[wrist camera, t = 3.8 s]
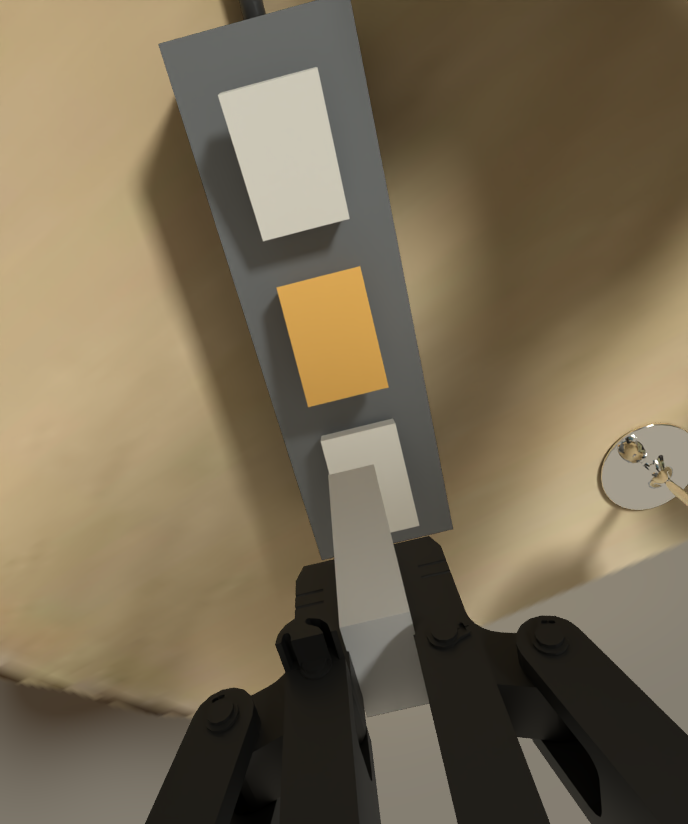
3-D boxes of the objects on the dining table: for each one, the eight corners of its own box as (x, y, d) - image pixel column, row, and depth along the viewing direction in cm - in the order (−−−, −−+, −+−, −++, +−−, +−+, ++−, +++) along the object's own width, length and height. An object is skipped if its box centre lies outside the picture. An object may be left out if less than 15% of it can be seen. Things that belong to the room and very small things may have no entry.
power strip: (143, -60, 28) (94, -134, 22) (313, -109, 28) (315, -198, 21) (318, 511, 42) (320, 569, 35) (434, 483, 41) (456, 537, 35)
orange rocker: (279, 288, 29) (276, 287, 28) (359, 268, 29) (359, 266, 27) (309, 402, 30) (308, 407, 29) (386, 383, 30) (388, 387, 29)
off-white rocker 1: (220, 92, 24) (217, 95, 23) (315, 67, 24) (317, 68, 23) (263, 233, 28) (263, 241, 27) (346, 211, 28) (349, 218, 26)
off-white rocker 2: (321, 435, 32) (320, 441, 31) (392, 418, 32) (395, 423, 31) (347, 533, 33) (347, 542, 32) (416, 516, 33) (419, 525, 32)
